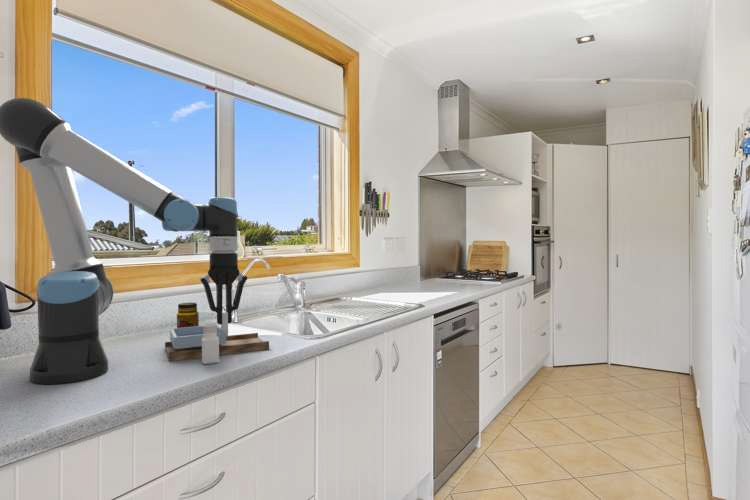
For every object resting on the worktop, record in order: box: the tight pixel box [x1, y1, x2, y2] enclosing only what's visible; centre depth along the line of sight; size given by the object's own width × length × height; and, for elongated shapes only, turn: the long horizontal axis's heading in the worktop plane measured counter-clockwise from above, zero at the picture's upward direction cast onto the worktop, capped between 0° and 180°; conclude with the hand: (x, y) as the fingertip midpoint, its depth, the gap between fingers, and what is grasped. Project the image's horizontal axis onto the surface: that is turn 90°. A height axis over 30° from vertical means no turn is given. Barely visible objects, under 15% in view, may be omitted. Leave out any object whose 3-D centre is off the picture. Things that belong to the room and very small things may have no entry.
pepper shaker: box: [201, 323, 220, 365], centre depth 116 cm, size 4×4×10 cm
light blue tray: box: [169, 323, 226, 351], centre depth 127 cm, size 13×13×5 cm
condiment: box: [176, 302, 200, 328], centre depth 138 cm, size 7×8×12 cm
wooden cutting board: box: [164, 332, 270, 362], centre depth 129 cm, size 26×14×2 cm, turn 119°
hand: (224, 335), depth 130 cm, fingers closed
